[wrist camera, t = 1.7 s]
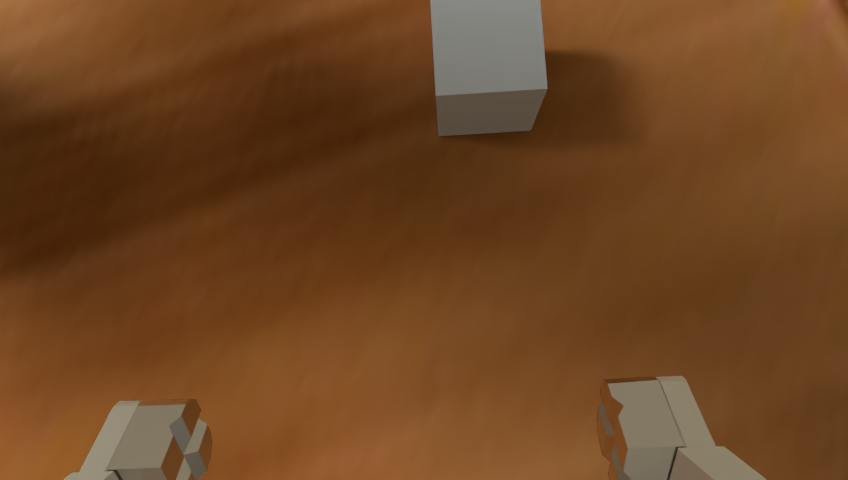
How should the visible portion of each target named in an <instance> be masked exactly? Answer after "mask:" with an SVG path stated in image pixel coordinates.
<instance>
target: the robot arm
mask: <svg viewBox="0 0 848 480" xmlns="http://www.w3.org/2000/svg"><path fill="white" fill-rule="evenodd" d="M600 393H601V397H602V400H603V403H602V404H601V405H600V406H599V407H598V412H597V432H598V438H599V443H600V447H601V451H602V455H603V456H604V457H606V458H607V459H608V460H609V461H610V464H609V471H608V478H609V480H767V479H765V478H764V477H763V476H761V475H760V474H759V473H758V472H756V471H755V470H754V469H753V468H751V467H750V466H749V465H747V464H746V463H745V462H744V461H742V460H741V459H740V458H739V457H737V456H736V455H735V454H733V453H732V452H731V451H730V450H728V449H727V448H726V447H724V446H716V445H715V443H714V441H713V438H712V436H711V434H710V432H709V429H708V427H707V425H706V423H705V421H704V418H703V416H702V414H701V412H700V409H699V407H698V405H697V403H696V401H695V398H694V396H693V394H692V392H691V390H690V387H689V385H688V383H687V381H686V379H685V378H684V377H683V376H662V377H636V378H619V379H604V380H603V382H602V384H601V390H600ZM200 412H201V409H200V407H199V405H198V403H197V401H196V399H172V400H133V401H119V402H118V403H117V404H116V405H115V406H114V407H113V408H112V409H111V411H110V413H109V415H108V417H107V419H106V421H105V423H104V425H103V427H102V429H101V431H100V433H99V434H98V436H97V438H96V440H95V442H94V444H93V446H92V448H91V450H90V452H89V454H88V456H87V458H86V460H85V462H84V464H83V465H82V467H81V469H80V471H79V472H73V473H71V474H69V475H68V476H67V477H66V478H65V479H63V480H198V479H199V478H200V477H201V476H202V475H203V474H204V473H205V472H206V471H207V469H208V466H209V463H210V459H211V452H212V437H211V432H210V429H209V427H208V424H206V423H205V422H203V421H202V420H200V419H199V415H200Z"/></svg>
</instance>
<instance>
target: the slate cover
mask: <svg viewBox="0 0 848 480" xmlns="http://www.w3.org/2000/svg"><path fill="white" fill-rule="evenodd" d="M430 2H431V20H432V39H433V57H434V75H435V94H436V109H437V125H438V136H452V135H468V134H485V133H501V132H518V131H531V129H532V127H533V124H534V122H535V119H536V117H537V114H538V112H539V109H540V107H541V104H542V102H543V99H544V97H545V94H546V92H547V89H548V87H547V75H546V63H545V51H544V39H543V27H542V14H541V2H540V0H430Z"/></svg>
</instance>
